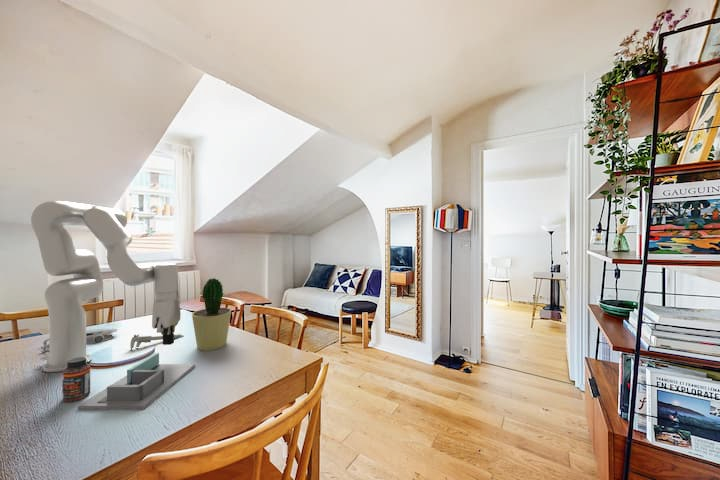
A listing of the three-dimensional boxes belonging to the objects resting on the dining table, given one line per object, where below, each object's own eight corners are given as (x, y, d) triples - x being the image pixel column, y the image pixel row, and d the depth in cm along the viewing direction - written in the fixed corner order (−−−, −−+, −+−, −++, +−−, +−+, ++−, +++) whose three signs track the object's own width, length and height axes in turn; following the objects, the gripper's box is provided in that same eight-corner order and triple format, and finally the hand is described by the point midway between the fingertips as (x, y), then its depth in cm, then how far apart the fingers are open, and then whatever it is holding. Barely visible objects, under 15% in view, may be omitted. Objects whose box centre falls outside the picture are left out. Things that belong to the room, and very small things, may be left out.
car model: (41, 347, 122) (41, 335, 122) (115, 333, 139) (115, 323, 139) (39, 354, 114) (39, 342, 114) (118, 339, 131) (118, 328, 131)
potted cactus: (187, 344, 125) (188, 276, 125) (224, 336, 136) (225, 273, 135) (196, 355, 114) (196, 281, 114) (236, 346, 124) (236, 277, 124)
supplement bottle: (58, 405, 81) (57, 365, 80) (67, 394, 86) (67, 357, 86) (86, 399, 83) (86, 361, 83) (93, 389, 89) (93, 353, 88)
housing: (77, 409, 79) (77, 391, 79) (145, 366, 104) (145, 353, 104) (143, 409, 79) (143, 391, 79) (195, 366, 105) (195, 353, 104)
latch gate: (127, 382, 90) (127, 370, 90) (155, 363, 103) (155, 353, 103) (130, 382, 90) (130, 370, 90) (158, 363, 103) (158, 353, 103)
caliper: (131, 350, 119) (131, 335, 119) (130, 350, 119) (130, 335, 119) (184, 336, 136) (184, 323, 135) (183, 336, 136) (183, 323, 136)
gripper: (169, 292, 115) (171, 337, 116) (142, 300, 100) (143, 352, 101) (188, 291, 115) (189, 336, 116) (163, 300, 100) (165, 351, 101)
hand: (168, 343), depth 108 cm, fingers closed
